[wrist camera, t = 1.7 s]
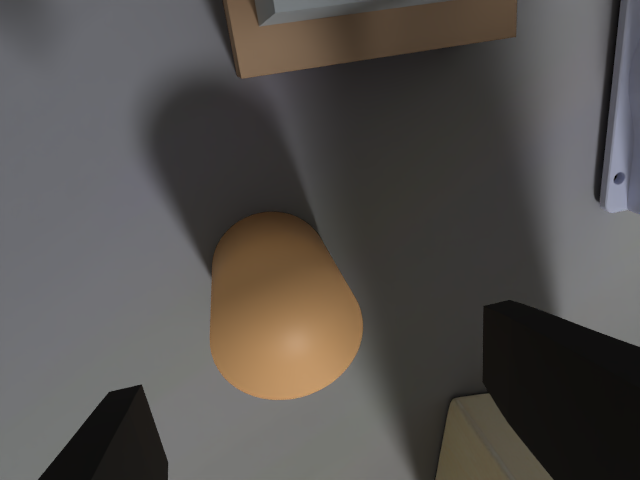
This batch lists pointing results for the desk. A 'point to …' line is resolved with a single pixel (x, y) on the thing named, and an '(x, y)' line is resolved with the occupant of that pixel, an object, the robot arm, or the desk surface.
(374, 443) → the desk surface
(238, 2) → the brown square box
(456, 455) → the tan wooden block
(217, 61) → the desk surface
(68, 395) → the desk surface
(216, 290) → the orange capsule
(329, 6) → the slate block
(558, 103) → the desk surface
